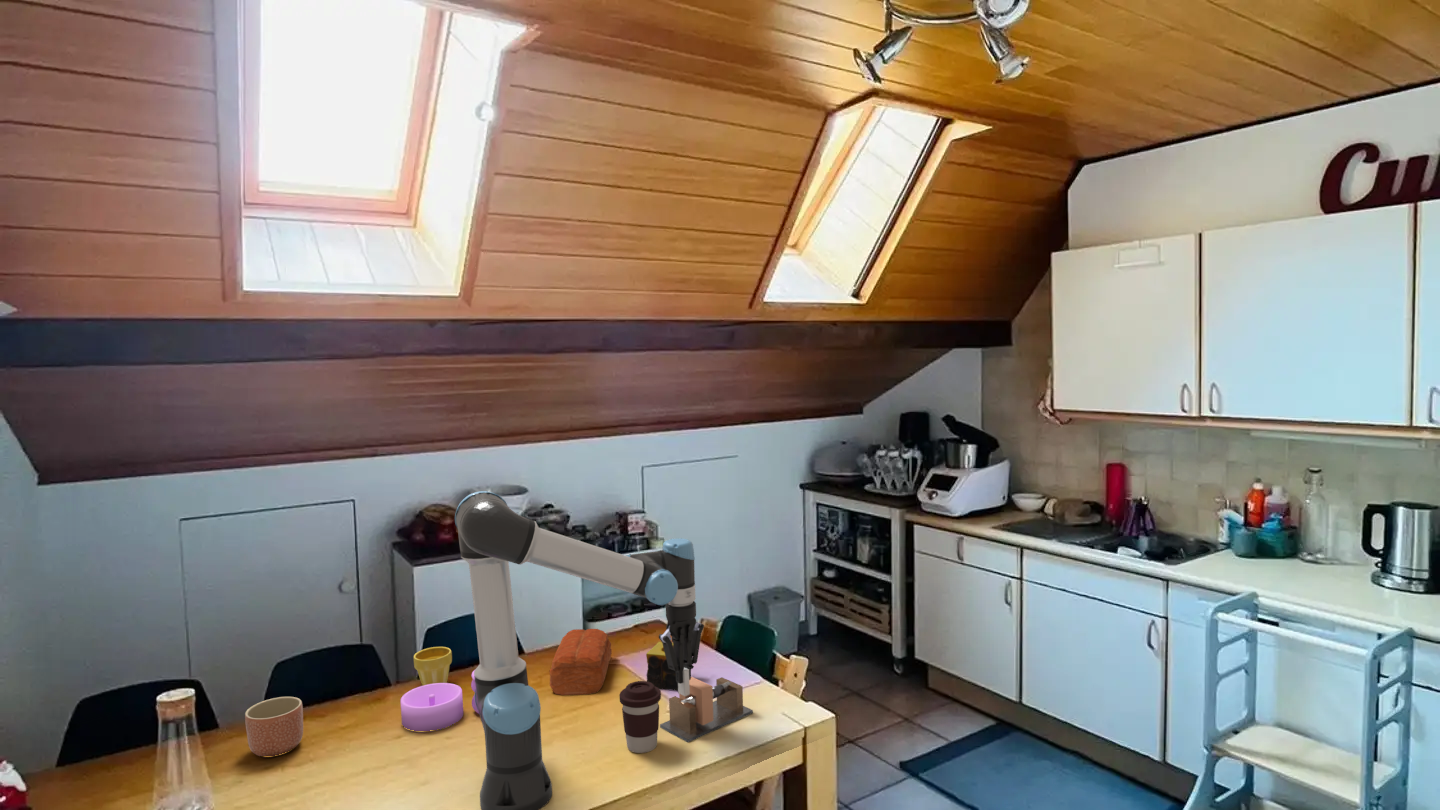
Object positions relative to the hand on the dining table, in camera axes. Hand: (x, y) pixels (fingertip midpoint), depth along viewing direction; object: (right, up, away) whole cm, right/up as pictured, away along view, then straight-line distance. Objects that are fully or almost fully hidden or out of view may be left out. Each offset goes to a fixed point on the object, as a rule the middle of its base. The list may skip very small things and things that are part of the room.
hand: (684, 693), depth 207 cm
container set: (-62, -10, +13) cm, 64 cm away
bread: (-31, -8, +36) cm, 49 cm away
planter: (-100, -13, -4) cm, 101 cm away
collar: (+3, -7, +3) cm, 8 cm away
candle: (-5, -7, +30) cm, 31 cm away
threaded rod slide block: (+6, -9, +6) cm, 12 cm away
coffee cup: (-10, -11, -7) cm, 16 cm away
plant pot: (-73, -9, +32) cm, 80 cm away
